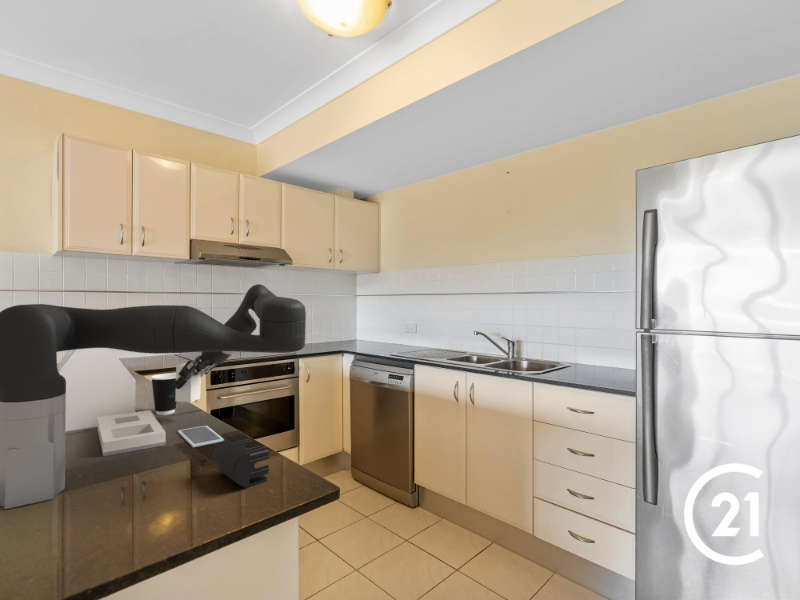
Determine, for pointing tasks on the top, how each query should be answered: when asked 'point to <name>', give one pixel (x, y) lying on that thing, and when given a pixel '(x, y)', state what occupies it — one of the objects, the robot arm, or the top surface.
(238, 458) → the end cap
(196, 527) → the top surface
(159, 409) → the dixie cup
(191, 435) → the phone
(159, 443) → the outlet strip
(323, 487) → the top surface
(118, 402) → the milk carton
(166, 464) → the top surface
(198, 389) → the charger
